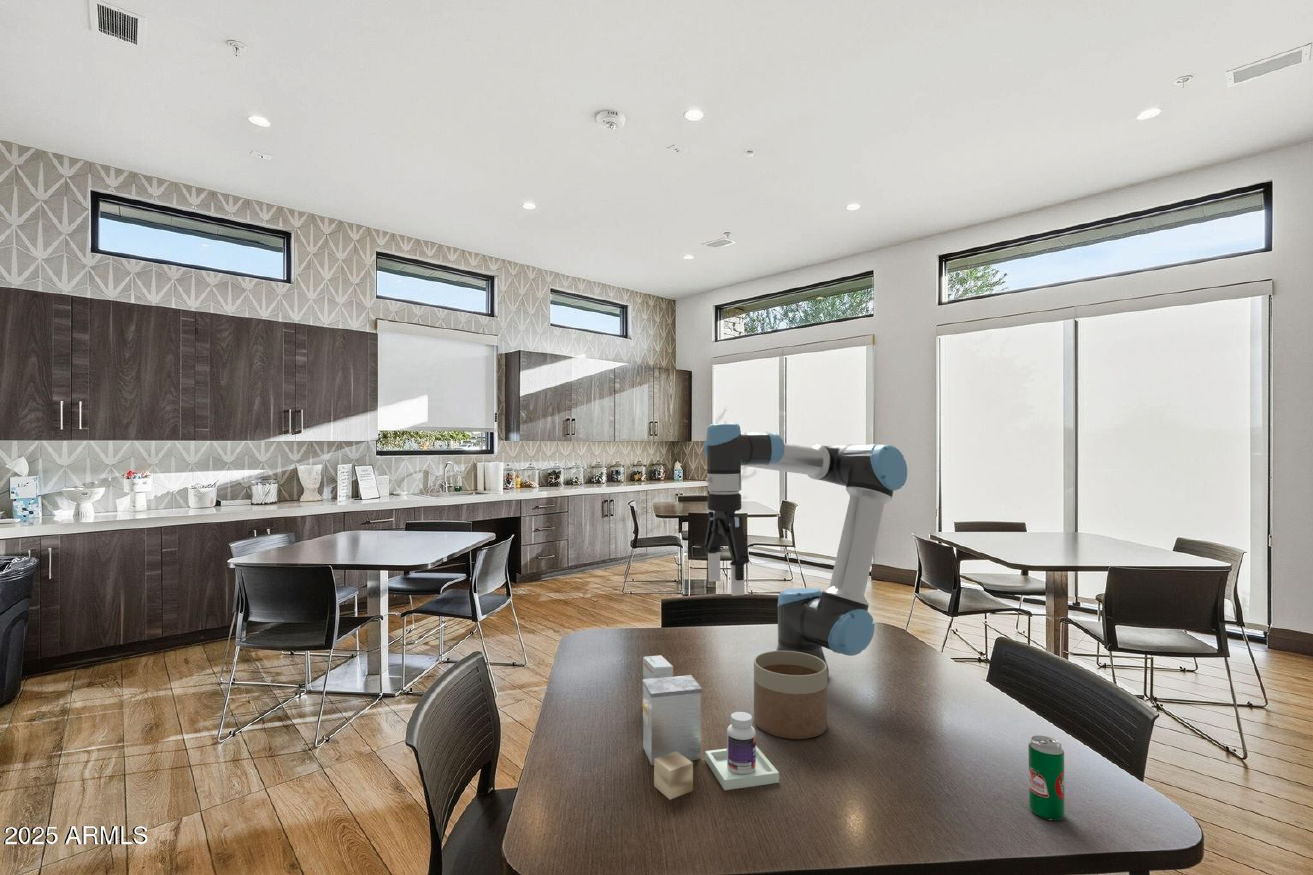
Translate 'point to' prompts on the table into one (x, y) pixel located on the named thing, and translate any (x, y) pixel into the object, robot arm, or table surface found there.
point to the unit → (672, 717)
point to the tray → (731, 780)
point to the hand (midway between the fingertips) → (725, 587)
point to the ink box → (656, 668)
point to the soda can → (1046, 777)
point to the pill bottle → (741, 744)
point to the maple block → (673, 775)
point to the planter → (790, 694)
